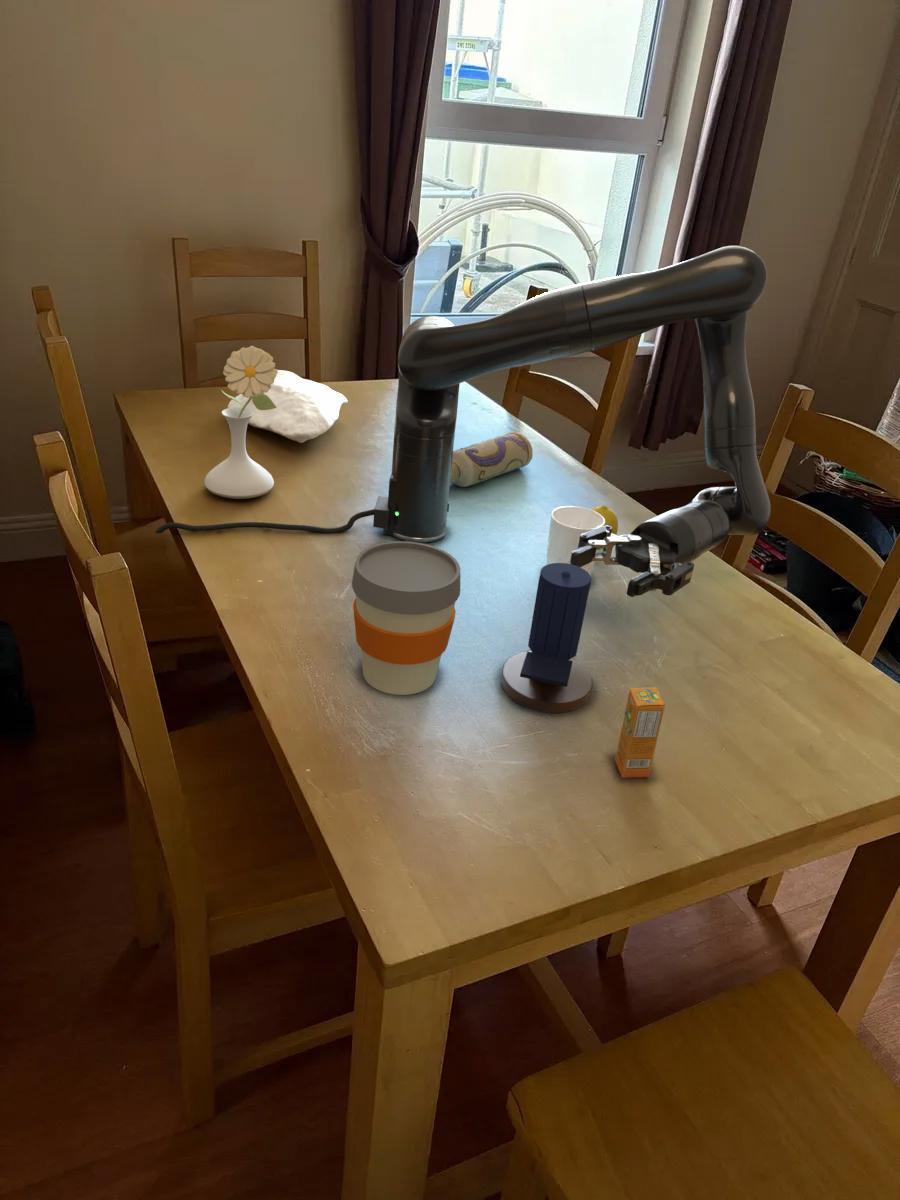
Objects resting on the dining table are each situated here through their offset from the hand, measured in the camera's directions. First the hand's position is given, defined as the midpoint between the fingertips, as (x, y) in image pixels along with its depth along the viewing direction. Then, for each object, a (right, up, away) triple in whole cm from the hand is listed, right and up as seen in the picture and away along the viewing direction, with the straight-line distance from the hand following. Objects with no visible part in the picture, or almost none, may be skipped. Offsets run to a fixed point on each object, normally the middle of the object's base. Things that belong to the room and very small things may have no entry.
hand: (601, 575), depth 108 cm
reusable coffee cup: (-25, -12, +1) cm, 27 cm away
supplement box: (+1, -22, -11) cm, 24 cm away
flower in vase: (-53, +15, +42) cm, 69 cm away
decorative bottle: (-14, +19, +57) cm, 62 cm away
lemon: (+5, +5, +35) cm, 36 cm away
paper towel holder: (-7, -14, +1) cm, 15 cm away
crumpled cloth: (-50, +32, +71) cm, 93 cm away
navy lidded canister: (-7, -10, -3) cm, 12 cm away
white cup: (-1, 0, +26) cm, 26 cm away
